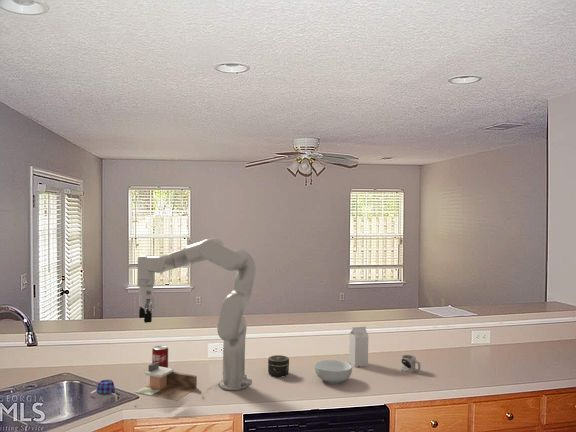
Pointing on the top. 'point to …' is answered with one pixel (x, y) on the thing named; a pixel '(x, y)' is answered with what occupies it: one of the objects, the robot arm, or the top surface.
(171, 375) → the puzzle board
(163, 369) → the sliding lid
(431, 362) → the top surface
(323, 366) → the cereal bowl
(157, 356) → the soda can
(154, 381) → the terracotta block
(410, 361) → the mug
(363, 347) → the milk carton
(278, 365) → the jar
